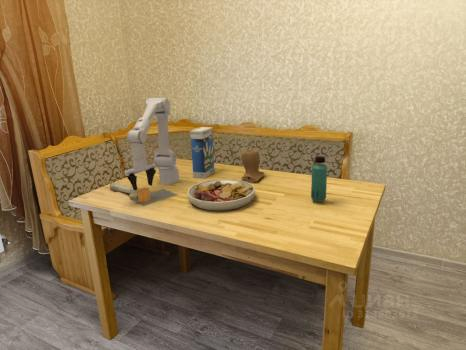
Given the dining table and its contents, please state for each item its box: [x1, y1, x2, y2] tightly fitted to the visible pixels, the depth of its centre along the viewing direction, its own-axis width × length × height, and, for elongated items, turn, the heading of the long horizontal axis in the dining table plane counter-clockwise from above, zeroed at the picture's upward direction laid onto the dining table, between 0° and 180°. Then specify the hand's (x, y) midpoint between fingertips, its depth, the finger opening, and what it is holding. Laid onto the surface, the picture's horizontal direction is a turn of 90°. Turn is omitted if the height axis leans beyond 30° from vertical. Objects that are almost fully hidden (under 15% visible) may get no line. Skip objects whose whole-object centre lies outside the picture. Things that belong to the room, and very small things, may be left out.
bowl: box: [187, 178, 256, 212], centre depth 149 cm, size 30×30×8 cm
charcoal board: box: [129, 188, 178, 207], centre depth 153 cm, size 18×12×4 cm, turn 135°
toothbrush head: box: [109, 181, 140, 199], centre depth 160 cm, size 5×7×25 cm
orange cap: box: [137, 187, 151, 202], centre depth 149 cm, size 5×5×5 cm
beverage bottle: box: [310, 155, 328, 202], centre depth 141 cm, size 6×7×20 cm
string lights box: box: [189, 126, 215, 179], centre depth 183 cm, size 13×8×26 cm, turn 159°
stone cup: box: [240, 149, 265, 183], centre depth 176 cm, size 15×12×15 cm
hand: (142, 187), depth 148 cm, fingers open, 7 cm apart
